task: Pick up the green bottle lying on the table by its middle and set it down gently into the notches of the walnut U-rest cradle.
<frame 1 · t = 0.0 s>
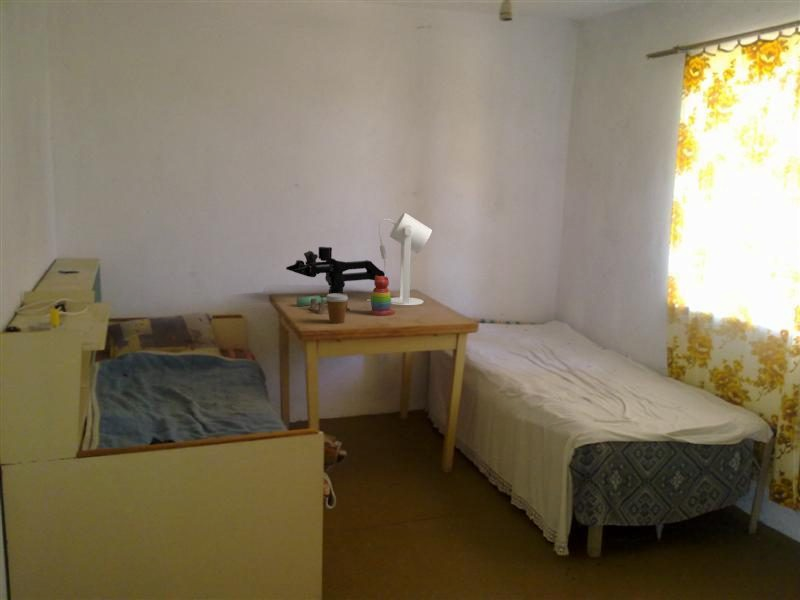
hand: (290, 269, 320), 17 cm above the table, tool horizontal, fingers open, 9 cm apart
disposable coffee cup: (336, 322, 285), on the table
bottle: (308, 305, 318), on the table
cradle: (329, 309, 309), on the table
stacking bear: (381, 314, 303), on the table
desk lamp: (398, 302, 332), on the table
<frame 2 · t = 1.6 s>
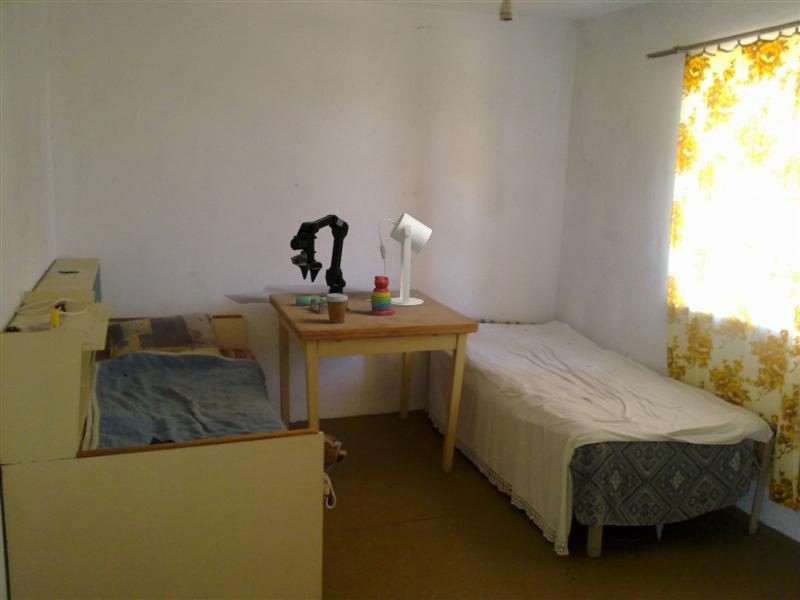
hand: (308, 280, 316), 12 cm above the table, tool pointing down, fingers open, 9 cm apart
bottle: (308, 305, 318), on the table, tilted 28°
everything else where it was.
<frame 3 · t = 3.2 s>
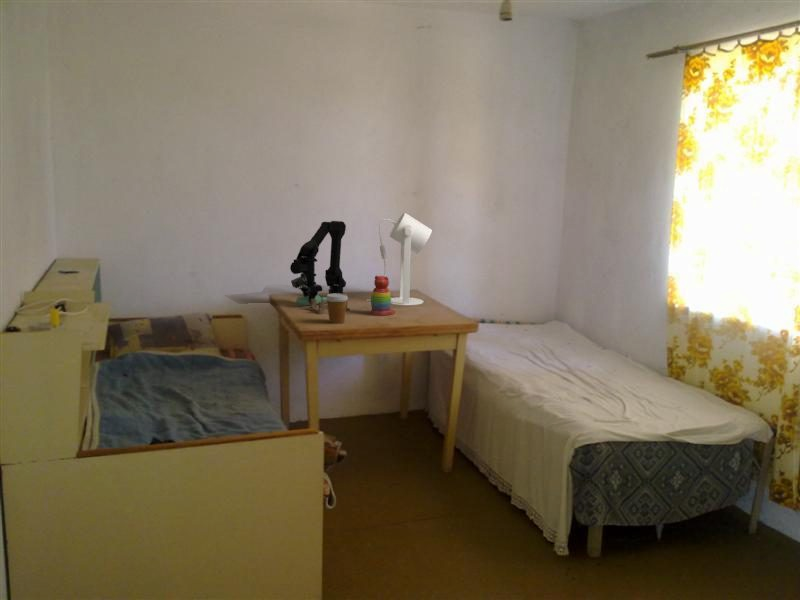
hand: (308, 303, 318), 1 cm above the table, tool pointing down, fingers closed on bottle, 4 cm apart
bottle: (308, 305, 318), on the table, tilted 7°, touching gripper
everything else where it was.
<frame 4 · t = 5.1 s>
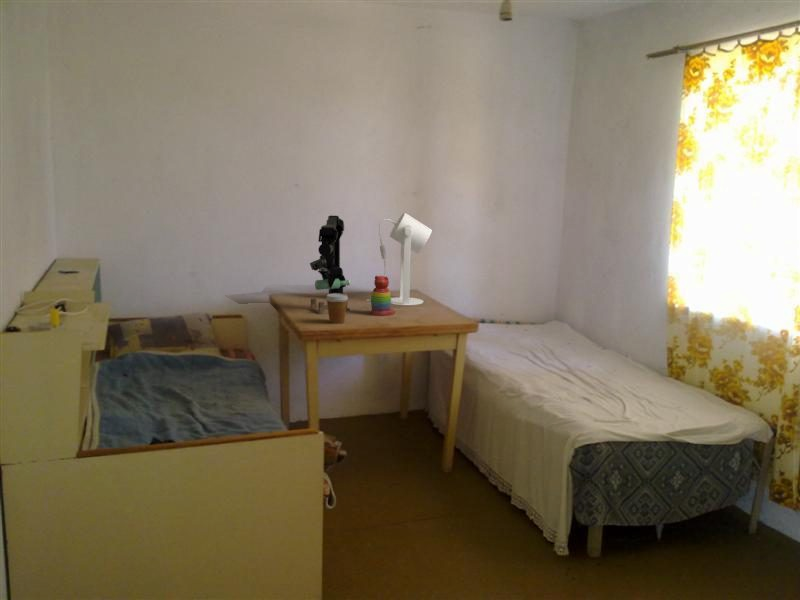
hand: (328, 286, 306), 11 cm above the table, tool pointing down, fingers closed on bottle, 4 cm apart
bottle: (327, 288, 306), point 10 cm above the table, tilted 7°, touching gripper
everything else where it was.
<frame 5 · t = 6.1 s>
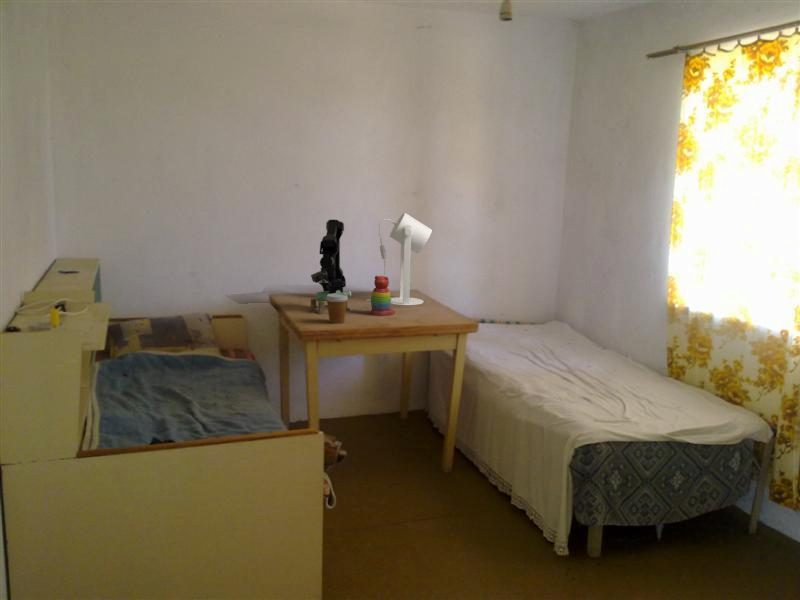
hand: (329, 298, 308), 6 cm above the table, tool pointing down, fingers closed on bottle, 4 cm apart
bottle: (329, 300, 307), point 5 cm above the table, tilted 6°, touching gripper
everything else where it was.
when the fingers open (3 cm above the table, at t = 6.9 s): bottle drops 1 cm, resting on cradle.
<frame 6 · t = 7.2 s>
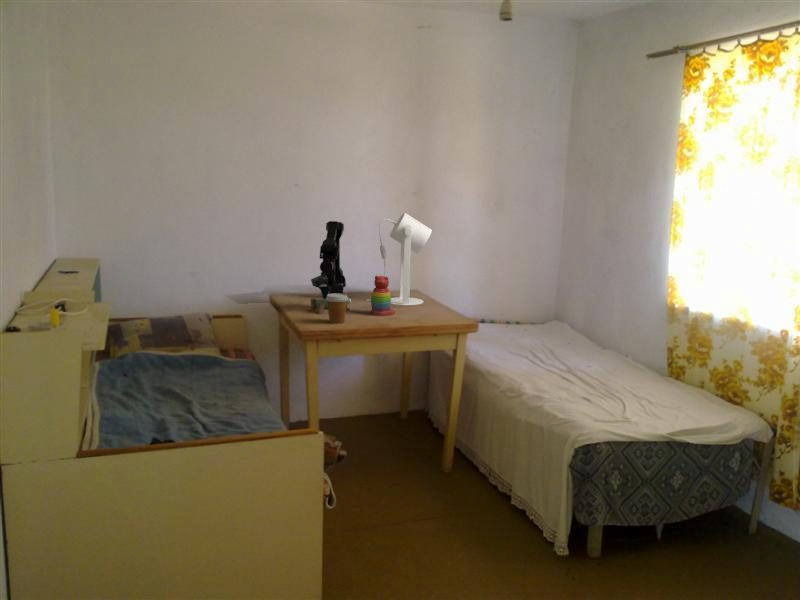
hand: (329, 302, 308), 3 cm above the table, tool pointing down, fingers open, 8 cm apart
bottle: (328, 308, 308), point 1 cm above the table, tilted 6°, touching cradle
everything else where it was.
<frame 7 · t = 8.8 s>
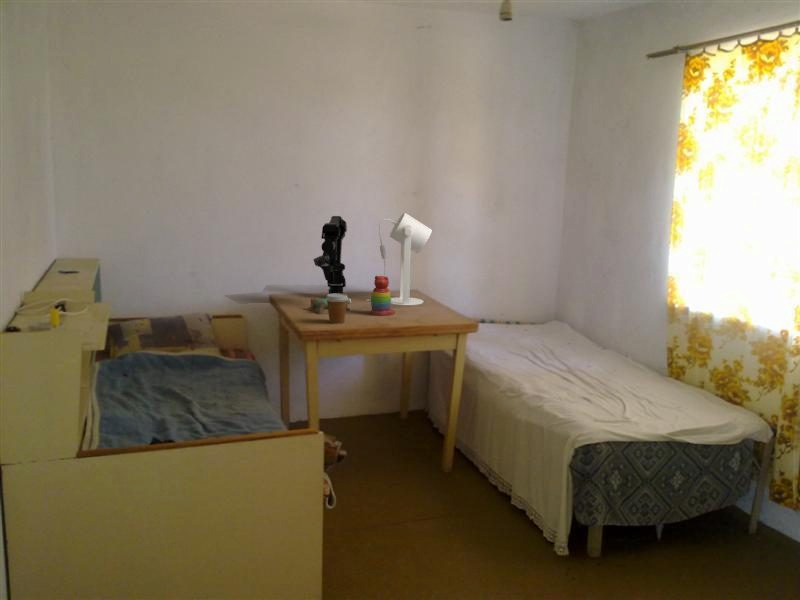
hand: (330, 281, 317), 12 cm above the table, tool pointing down, fingers open, 9 cm apart
nothing on the table moved.
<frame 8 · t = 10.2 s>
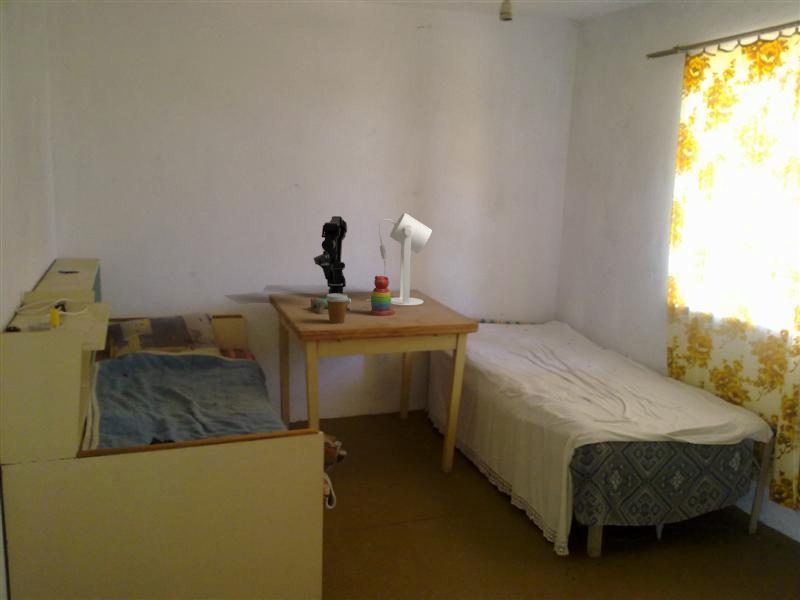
hand: (331, 280, 318), 12 cm above the table, tool pointing down, fingers open, 9 cm apart
nothing on the table moved.
at the end: bottle inside the target area on the cradle (0.3 cm from its centre), point 1.0 cm above the cradle's base; the gripper is holding nothing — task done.
